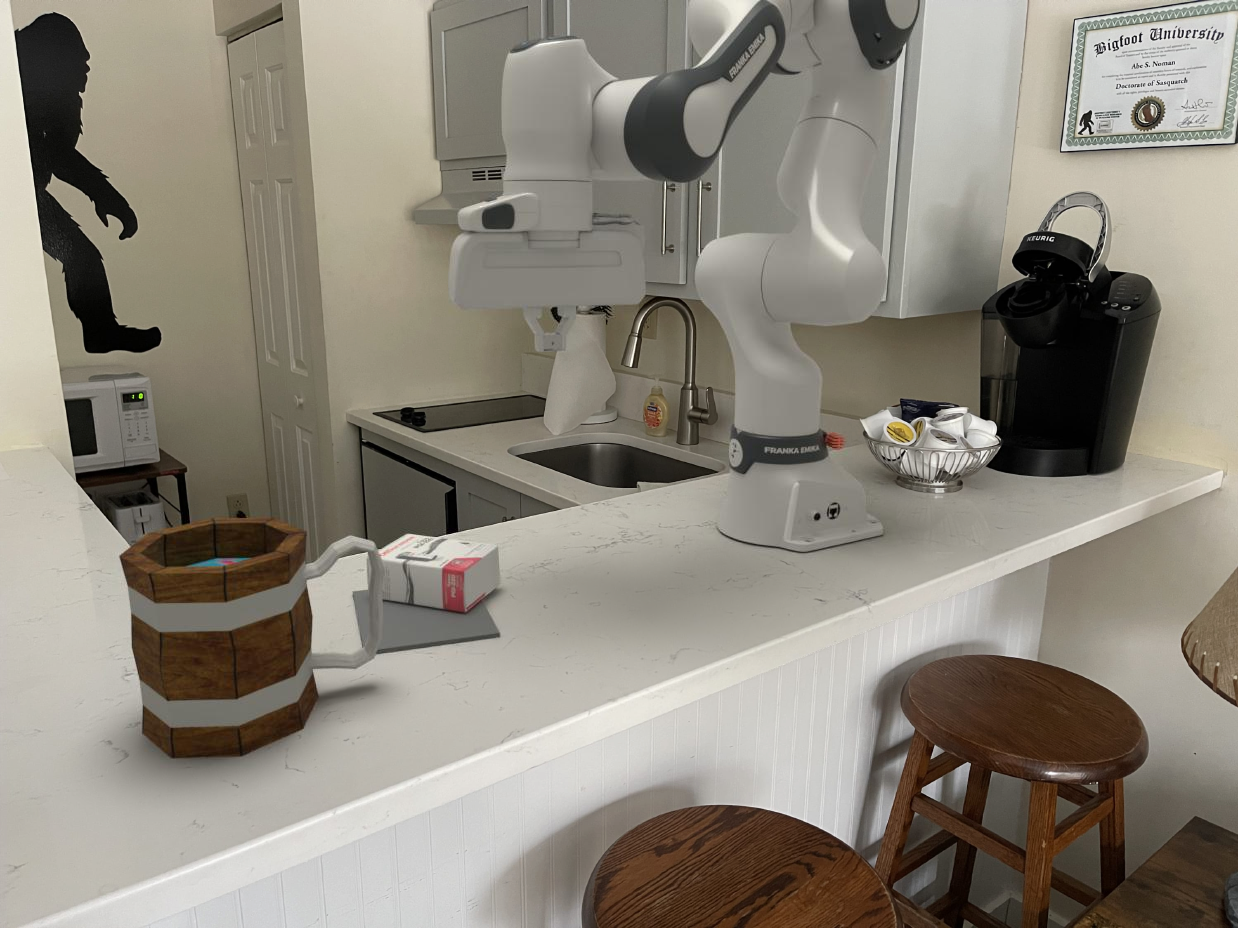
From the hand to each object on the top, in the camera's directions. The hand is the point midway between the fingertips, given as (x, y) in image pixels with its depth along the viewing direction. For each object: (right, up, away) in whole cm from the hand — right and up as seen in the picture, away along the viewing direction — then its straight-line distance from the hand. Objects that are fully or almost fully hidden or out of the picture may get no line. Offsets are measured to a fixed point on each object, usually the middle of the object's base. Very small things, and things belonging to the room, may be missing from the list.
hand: (550, 350), depth 93 cm
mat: (-13, -28, 0) cm, 31 cm away
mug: (-22, -32, -18) cm, 43 cm away
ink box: (-7, -24, +3) cm, 25 cm away
